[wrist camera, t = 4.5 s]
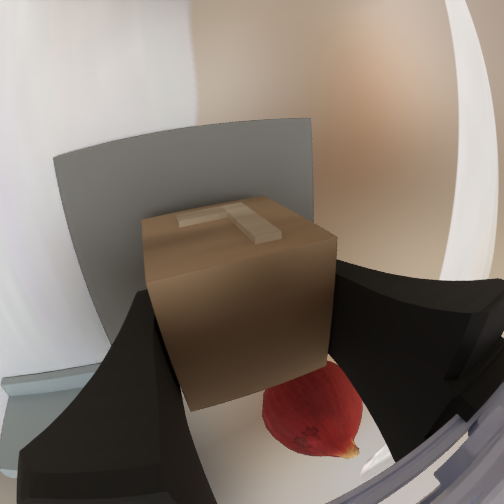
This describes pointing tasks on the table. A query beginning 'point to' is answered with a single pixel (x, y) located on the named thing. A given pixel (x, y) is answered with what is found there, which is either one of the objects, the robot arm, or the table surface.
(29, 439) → the screen
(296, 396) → the onion
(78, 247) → the grey square plate
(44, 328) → the table surface
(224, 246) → the taped cardboard box
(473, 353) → the robot arm
